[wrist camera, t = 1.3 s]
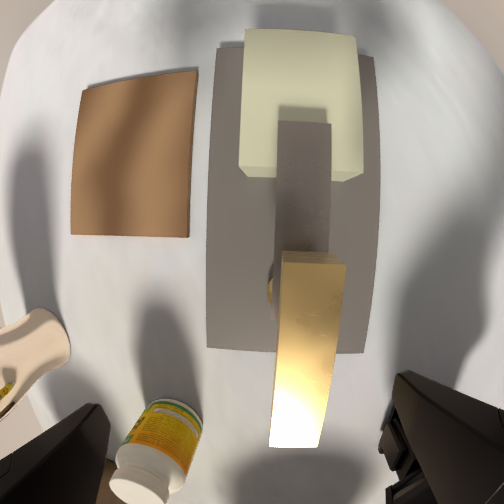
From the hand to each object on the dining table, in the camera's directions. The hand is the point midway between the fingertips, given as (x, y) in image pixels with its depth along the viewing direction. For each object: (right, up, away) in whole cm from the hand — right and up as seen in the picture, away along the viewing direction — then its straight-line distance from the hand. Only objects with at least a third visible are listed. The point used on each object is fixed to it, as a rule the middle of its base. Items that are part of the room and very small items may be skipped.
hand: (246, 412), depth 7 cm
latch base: (+3, +8, +12) cm, 15 cm away
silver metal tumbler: (-19, -4, +15) cm, 25 cm away
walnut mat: (-9, +12, +12) cm, 19 cm away
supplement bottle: (-7, -10, +15) cm, 20 cm away
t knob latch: (+3, +5, +11) cm, 12 cm away
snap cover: (+3, +13, +10) cm, 17 cm away
